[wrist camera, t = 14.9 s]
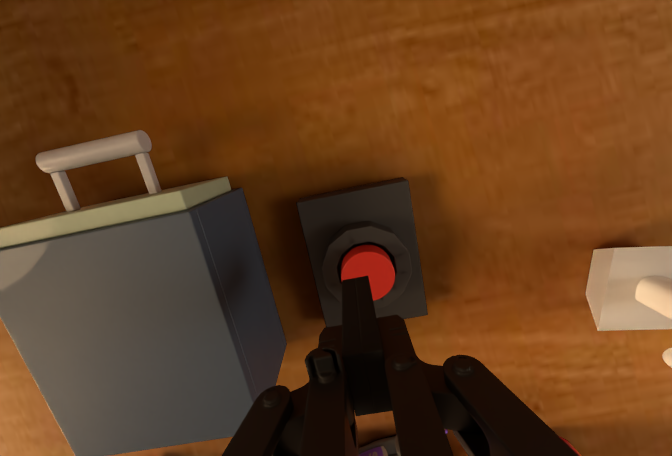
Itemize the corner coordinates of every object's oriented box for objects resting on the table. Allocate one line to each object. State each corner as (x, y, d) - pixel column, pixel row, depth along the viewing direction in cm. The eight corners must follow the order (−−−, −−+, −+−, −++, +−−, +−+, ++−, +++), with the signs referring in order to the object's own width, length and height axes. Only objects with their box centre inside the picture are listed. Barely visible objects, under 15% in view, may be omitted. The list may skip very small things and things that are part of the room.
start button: (336, 249, 25) (336, 257, 23) (387, 239, 24) (390, 246, 23) (346, 295, 26) (346, 305, 24) (395, 286, 25) (399, 296, 24)
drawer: (65, 157, 26) (-52, 164, 18) (212, 124, 25) (155, 116, 17) (147, 351, 30) (81, 421, 23) (272, 329, 30) (249, 394, 22)
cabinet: (93, 218, 28) (-34, 257, 18) (242, 187, 27) (189, 211, 18) (155, 366, 32) (77, 460, 22) (286, 343, 31) (263, 432, 22)
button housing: (299, 198, 27) (292, 207, 23) (402, 177, 27) (413, 183, 23) (328, 319, 30) (326, 345, 26) (421, 302, 30) (433, 326, 26)
